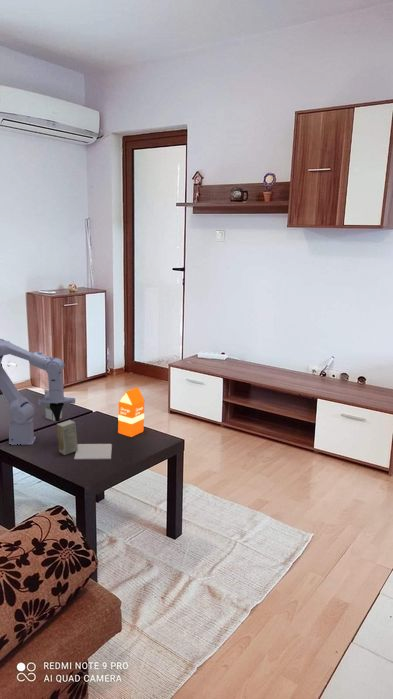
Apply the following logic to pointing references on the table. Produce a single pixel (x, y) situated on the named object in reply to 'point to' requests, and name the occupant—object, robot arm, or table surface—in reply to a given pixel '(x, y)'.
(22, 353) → the robot arm
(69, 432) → the skincare box
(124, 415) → the orange juice
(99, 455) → the mat
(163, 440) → the table surface
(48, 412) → the syrup box
